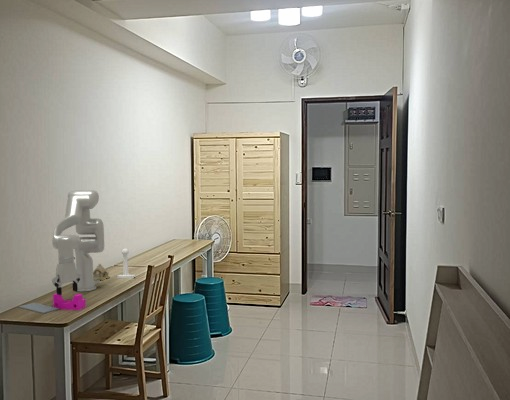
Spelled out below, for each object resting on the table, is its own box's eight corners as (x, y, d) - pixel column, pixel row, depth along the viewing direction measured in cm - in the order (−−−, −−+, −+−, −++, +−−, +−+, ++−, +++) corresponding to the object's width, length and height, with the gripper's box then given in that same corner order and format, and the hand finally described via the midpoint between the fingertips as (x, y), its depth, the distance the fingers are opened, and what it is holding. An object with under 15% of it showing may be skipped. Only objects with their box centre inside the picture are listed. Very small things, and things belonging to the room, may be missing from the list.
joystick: (116, 279, 356) (115, 248, 354) (120, 277, 363) (119, 247, 362) (133, 279, 355) (132, 248, 353) (136, 277, 362) (136, 247, 361)
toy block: (85, 307, 288) (84, 293, 288) (78, 310, 282) (77, 296, 282) (61, 305, 293) (60, 291, 292) (53, 308, 287) (53, 294, 286)
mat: (34, 303, 297) (34, 302, 297) (59, 309, 284) (59, 308, 284) (18, 307, 289) (18, 306, 289) (43, 313, 277) (43, 312, 277)
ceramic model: (94, 277, 365) (94, 262, 365) (111, 276, 365) (111, 261, 365) (88, 281, 351) (87, 266, 351) (105, 281, 351) (105, 265, 351)
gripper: (75, 257, 296) (76, 289, 297) (47, 262, 282) (48, 295, 283) (84, 258, 291) (85, 290, 292) (56, 263, 277) (57, 297, 278)
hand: (67, 292), depth 287 cm, fingers open, 9 cm apart
